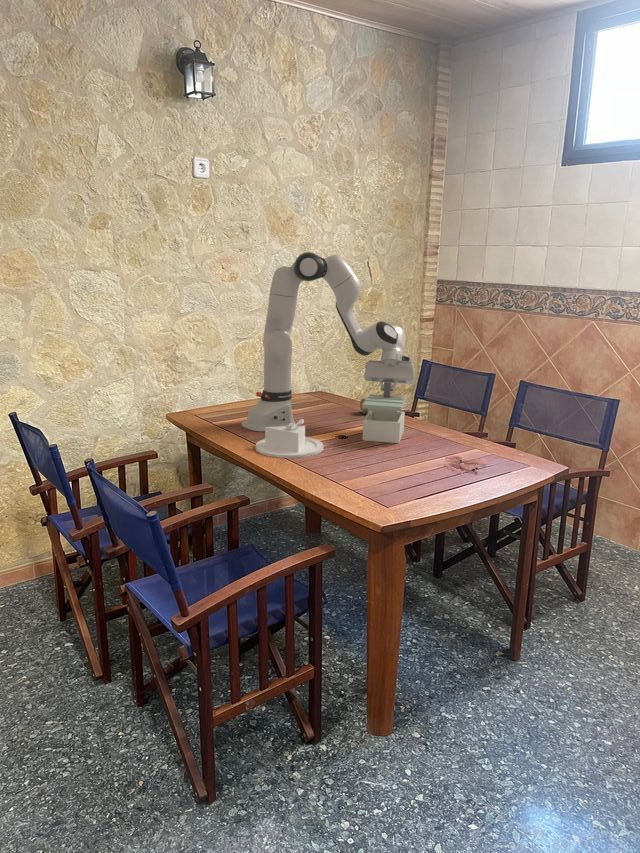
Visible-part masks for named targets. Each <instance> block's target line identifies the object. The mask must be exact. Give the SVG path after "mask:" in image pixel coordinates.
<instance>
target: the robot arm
mask: <svg viewBox="0 0 640 853" xmlns="http://www.w3.org/2000/svg"><path fill="white" fill-rule="evenodd" d="M319 279H323V280H324V281H325V282H326V283H327V284H328V286H329V287H330V289H332V292H333V294H334V296H335V300H336V301H335V308H336V311H337V313H338V315H339V318H340V319H341V322H342V324H343V325H344V328H345V331H346V332H347V334H348V336H349V339H350V341H351V344H352V347H353V350H354V351H355V352H356V353H357V354H359V355H361V356H365V357H366V356H370V355H371V354H372V353H374V352H375V351H377V350H379V349H381V351H382V353H381V357H380V360H372V359H371V360H367V362H365V366H364V367H365V368H364V374H363V377H364V380H365V381H366V382H378V384H379V386H380V391H383V392H384V382H385V381H391V388H390V391H391V392H394V391H395V389H396V388H397V386H398V385H399V384H408V385H412V384H413V383H415V375H416V374H415V367H414V361H413V358H412V357H409V356H407V355H404V354H403V353H404V350H405V346H406V335H405V334H406V333H405V331H404V330H403V328H402V327H400V326H398V325H391V324H389V323H388V322H385V321H383V320H382V321H378V322H376V323H374V324H373V325H372V324H371V326H369V327H367V328H365V329H362V328H361V327H360V324H359V322H358V320H357V318H356V317H355V314H354V306H355V303H356V302H357V301H358V299H359V298H360V295H361V292H362V284H361V280H360V278H359V277H358V276H357V274H356V273H355V272H354V269H353V268H352V267H351V266H350V264H349V263H348V262H347V261H346V260H345V259H344V258H343V257H342V256H341V255H339V254H331V255H328V256H327V257H326V258H323V257H322V256H319V255H318V254H317V253H315V252H312V251H305V252H303V253H300V254H299V255H298V256H297V257H296V259H295V260H294V262H293V264H292V265H291V266H286V265H284V266H280V267H277V268H276V270H275V271H274V273H273V277H272V280H271V284H270V289H269V297H268V304H267V305H268V306H267V311H266V320H265V325H264V331H263V337H262V345H263V350H264V353H263V354H264V356H263V360H264V361H263V390H262V392H260V391H256V392H255V396H256V397H258V398H260V399H259V401H257V402H256V403H255V404H254V405H253V406H252V407H251V408H250V409H249V410H248V412H247V417H246V420H245V421H242V422H241V427H243V428H244V429H247V430H250V431H254V432H265V427H282V426H287V425H289V424H290V423H293V422H295V420H294V416H293V411H292V410H293V409H292V397H293V395H292V394H293V393H292V392H293V391H292V388H291V387H292V382H291V381H292V380H291V376H292V375H291V374H292V373H291V372H292V371H291V370H292V360H293V358H292V356H293V341H292V339H291V336H292V331H293V325H294V320H295V316H296V307H297V300H298V293H299V287H300V285H301V283H302V282H313V281H316V280H319Z"/></svg>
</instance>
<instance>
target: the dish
mask: <svg viewBox="0 0 640 853" xmlns="http://www.w3.org/2000/svg"><path fill="white" fill-rule="evenodd" d="M304 422H305V420H304V419H303V418H300V419H299V420H298V421H297V422H295V421H294V422H293V423H290V424H289V425H287V426H282V427H265V431H264V438H263V439H261V440H259V441H258V442H256V443H255V450H256V452H258V453H260V454H261V455H264V456H268V457H271V458H272V457H273V458H280V459H298V458H299V459H300V457H301V458H307V456H308V457H311V455H312V456H315V455H318V454H320V453H321V452H323V450H324V448H325V446H324V444H323V442H322V441H321V440H318V439H316V438H314V437H309V436H306V425H303V424H304Z"/></svg>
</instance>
